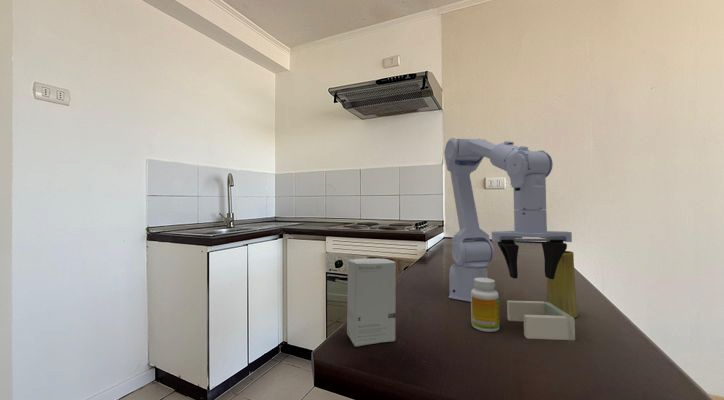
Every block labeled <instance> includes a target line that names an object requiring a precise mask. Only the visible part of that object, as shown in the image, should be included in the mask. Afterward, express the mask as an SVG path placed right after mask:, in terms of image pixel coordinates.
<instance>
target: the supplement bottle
mask: <svg viewBox="0 0 724 400" xmlns="http://www.w3.org/2000/svg"><path fill="white" fill-rule="evenodd" d="M474 286H475V287H476V288H474V289H473V290H472V291H471V302H470V312H471V314H470V316H471V319H470V320H471V326H472V327H473V328H475V330H478V331H481V332H487V333H488V332H489V333H491V332H492V333H493V332H497V331H499V330H500V327H501V326H500V325H501V321H500V295H499V292H498V291H497V290H496V289H495V288H496V280H495V279H493V278H489V277H487V278H475V279H474Z"/></svg>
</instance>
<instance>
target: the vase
mask: <svg viewBox="0 0 724 400" xmlns="http://www.w3.org/2000/svg"><path fill="white" fill-rule="evenodd" d="M574 257H575V256H574V251H570V250H565V252H564V253H563V255H562V257H561V259H560V261H559V263H558V266H557V269H556V272H555V276H554V279H549V278H547V277H546V302H549V303H551V304H552V305H554V306H555V307H557V308H559V309H560V310H562V311H563V312H565V313H567V314H568V315H570V316H571V317H573V318H574V319H575V318H577V317H578V316H579V315H578V306H577V305H578V304H577V294H576V293H577V292H576V290H577V289H576V276H575V259H574Z"/></svg>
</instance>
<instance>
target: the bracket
mask: <svg viewBox="0 0 724 400" xmlns="http://www.w3.org/2000/svg"><path fill="white" fill-rule="evenodd" d="M506 305H507V306H506V307H507V308H506V309H507V310H506V311H507V318H506V319H507V320H508V321H509V322H523V336H524V337H525V338H526V339H529V340H530V339H531V340H557V341H558V340H560V341H561V340H562V341H576V328H575V326H576V325H575V324H576V322H575V318H573V317H571V316H570V315H568V314H567V313H565V312H563V311H562V310H560V309H559V308H557V307H555V306H554V305H552V304H551V303H549V302H547V301H544V300H542V301H541V300H540V301H539V300H536V301H535V300H534V301H533V300H532V301H531V300H506Z"/></svg>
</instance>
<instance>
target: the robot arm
mask: <svg viewBox="0 0 724 400" xmlns="http://www.w3.org/2000/svg"><path fill="white" fill-rule="evenodd" d="M443 155H444V160H445V165H446V170H447V171H449V173H450V178H451V184H452V190H453V197H454V203H455V209H456V215H457V220H458V221H457V222H458V227H459V230H458V231H457V232H456V233H455V234H454V235H453V236H452V237H451V257H452V259H453V261H454V263H452V264H451V266H450V268H449V275H448V276H449V277H448V279H449V281H448V282H449V296H448V298H449V299H453V300H458V301H463V302H470V303H471V291H472V290H473V289H474V288H476V287H475V286H474V279H475V278H488V267H490V266H491V263H492V262H493V260H494V257H495V248H494V246H493V244H492V242H495V243H497V246H498V247H499V250H500V251H501V253H502V255H503V257H504V260H505V263H506V265H507V269H508V273H509V277H510V278H512V279H518V276H519V275H518V273H519V272H518V271H519V270H518V254H519V249H520V246H519V245H518V244H516V242H541V246H542V250H543V258H544V276H545V278H546V279H547V278H549V279H554V276H555V272H556V269H557V266H558V263H559V261H560V259H561V257H562V255H563V253H564V252H565V251H567V248H568V243H572V241H573V235H572V234H573V233H572V232H571V231H563V230H562V231H559V230H558V231H556V230H555V231H554V230H553V231H552V230H551V231H549V230H548V226H547V225H548V224H547V222H548V219H547V217H548V216H547V188H546V187H547V185H546V184H547V182H546V181H547V180H546V178H547V177H548V176H549V175H550V174H551V172H552V171H553V166H554V165H553V164H554V163H553V158H552V156H551V155H550V154H549V153H548V152H546V151H545V150H537V151H536V150H530V149H529V147H527V146H523V145H521V146H517V145H515V144H514V142H513V141H510V140H505V141H504V142H500V143H497V144H495V143H493V142H490V141H488V140H487V139H483V138H482V139H481V138H455V137H451V138H450V139H448V141H447V142H446V145H445V147H444V153H443ZM484 158H487V159H489V161H490V163H491V165H493V166H494V167H495V168H497V169H500V170H503V171H504V172H506V174H507V176H508V177H509V180H510V186H511V188H513V217H514V218H513V219H514V221H513V222H514V223H513V225H514V227H513V228H514V230H509V231H508V230H503V231H491V239H490V235H489V234H488V233H487V232H486V231H484V230H483V229H481V228H480V224H479V218H478V212H477V207H476V202H475V197H474V191H473V185H472V181H471V173H473V172H474V171H476V170H477V169H478V168H479V166H480V164H481V163H482V161H483V159H484ZM491 241H492V242H491Z"/></svg>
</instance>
